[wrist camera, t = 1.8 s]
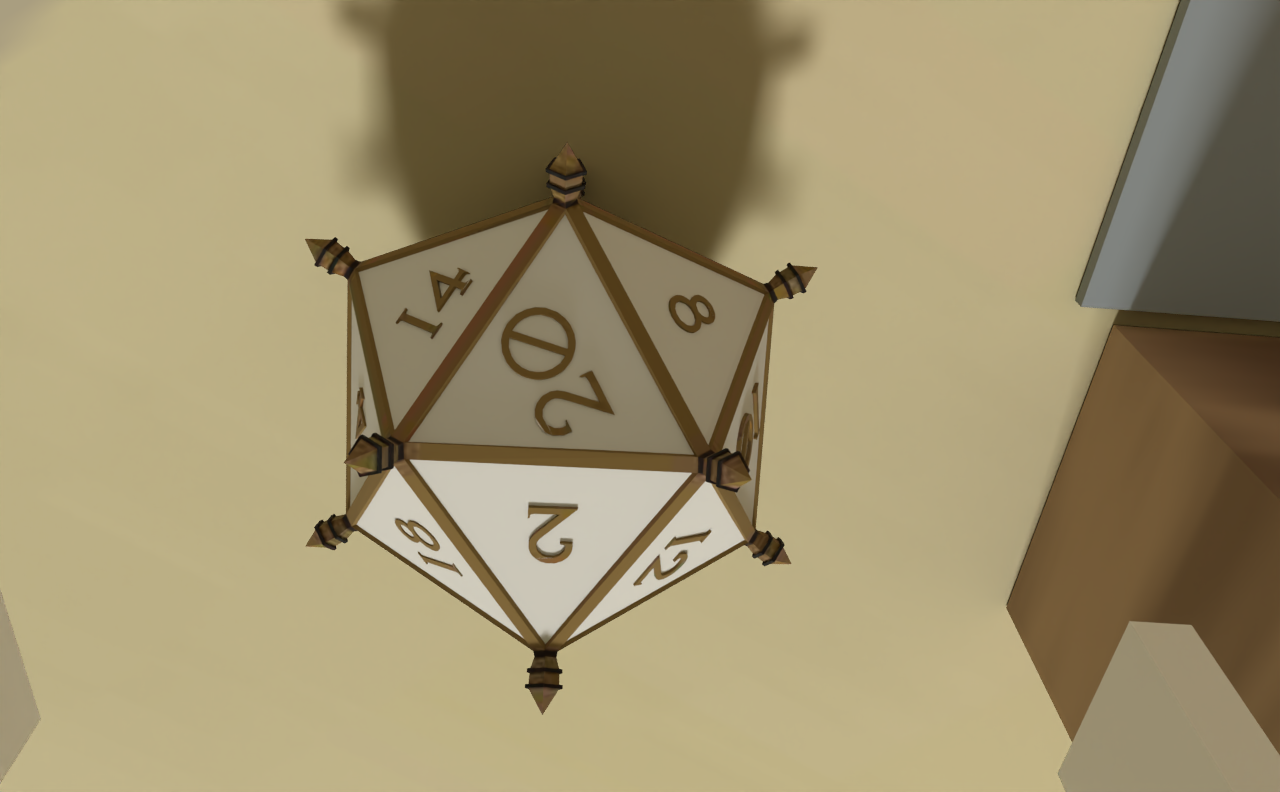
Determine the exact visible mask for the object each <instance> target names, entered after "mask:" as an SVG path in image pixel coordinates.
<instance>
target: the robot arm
mask: <svg viewBox="0 0 1280 792" xmlns="http://www.w3.org/2000/svg"><path fill="white" fill-rule="evenodd" d="M40 719H41V718H40V715H39V712H38V708H37V705H36V702H35V699H34V696H33V692H32V689H31V686H30V683H29V680H28V677H27V673H26V670H25V667H24V664H23V661H22V657H21V654H20V651H19V648H18V645H17V641H16V638H15V635H14V632H13V629H12V625H11V622H10V619H9V616H8V613H7V609H6V606H5V603H4V600H3V597H2V593H1V590H0V783H1V782H2V780H3V778H4V777H5V775H6V774H7V772H8V770H9V769H10V767H11V766H12V764H13V762H14V761H15V759H16V758H17V756H18V754H19V753H20V751H21V750H22V748H23V747H24V745H25V743H26V742H27V740H28V739H29V737H30V735H31V734H32V732H33V731H34V729H35V727H36V726H37V724H38V723H39V721H40ZM1058 775H1059V778H1060V780H1061V782H1062V784H1063V787H1064V789H1065V791H1066V792H1280V755H1279V754H1278V752H1277V751H1276V749H1275V748H1274V746H1273V745H1272V743H1271V742H1270V740H1269V739H1268V737H1267V736H1266V734H1265V733H1264V731H1263V730H1262V728H1261V727H1260V726H1259V724H1258V723H1257V721H1256V720H1255V718H1254V717H1253V715H1252V714H1251V712H1250V711H1249V709H1248V708H1247V706H1246V705H1245V703H1244V702H1243V700H1242V699H1241V697H1240V696H1239V694H1238V693H1237V691H1236V690H1235V689H1234V687H1233V686H1232V684H1231V683H1230V681H1229V680H1228V678H1227V677H1226V675H1225V674H1224V672H1223V671H1222V669H1221V668H1220V666H1219V665H1218V663H1217V662H1216V660H1215V659H1214V657H1213V656H1212V654H1211V653H1210V652H1209V650H1208V649H1207V647H1206V646H1205V644H1204V643H1203V641H1202V640H1201V638H1200V637H1199V635H1198V634H1197V632H1196V631H1195V629H1194V628H1193V626H1192V625H1184V624H1168V623H1152V622H1136V621H1129V623H1128V626H1127V628H1126V630H1125V632H1124V634H1123V636H1122V638H1121V640H1120V642H1119V645H1118V647H1117V649H1116V651H1115V653H1114V655H1113V657H1112V659H1111V662H1110V664H1109V666H1108V668H1107V670H1106V672H1105V674H1104V676H1103V678H1102V681H1101V683H1100V685H1099V687H1098V689H1097V691H1096V693H1095V695H1094V697H1093V700H1092V702H1091V704H1090V706H1089V708H1088V710H1087V712H1086V714H1085V717H1084V719H1083V721H1082V723H1081V725H1080V727H1079V729H1078V731H1077V733H1076V736H1075V738H1074V740H1073V742H1072V744H1071V746H1070V748H1069V750H1068V753H1067V755H1066V757H1065V759H1064V761H1063V763H1062V765H1061V767H1060V769H1059V772H1058Z"/></svg>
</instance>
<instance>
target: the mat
mask: <svg viewBox="0 0 1280 792" xmlns="http://www.w3.org/2000/svg"><path fill="white" fill-rule="evenodd" d="M1075 301H1076V302H1077V303H1078V304H1079V305H1080V306H1081V307H1092V308H1105V309H1118V310H1132V311H1145V312H1158V313H1172V314H1185V315H1198V316H1212V317H1225V318H1238V319H1252V320H1265V321H1278V322H1280V0H1181V2H1180V4H1179V7H1178V10H1177V13H1176V16H1175V19H1174V22H1173V24H1172V27H1171V30H1170V33H1169V36H1168V39H1167V41H1166V44H1165V47H1164V50H1163V53H1162V56H1161V58H1160V61H1159V64H1158V67H1157V70H1156V73H1155V75H1154V78H1153V81H1152V84H1151V87H1150V90H1149V92H1148V95H1147V98H1146V101H1145V104H1144V107H1143V110H1142V112H1141V115H1140V118H1139V121H1138V124H1137V127H1136V129H1135V132H1134V135H1133V138H1132V141H1131V144H1130V146H1129V149H1128V152H1127V155H1126V158H1125V161H1124V163H1123V166H1122V169H1121V172H1120V175H1119V178H1118V181H1117V183H1116V186H1115V189H1114V192H1113V195H1112V198H1111V200H1110V203H1109V206H1108V209H1107V212H1106V215H1105V217H1104V220H1103V223H1102V226H1101V229H1100V232H1099V234H1098V237H1097V240H1096V243H1095V246H1094V249H1093V251H1092V254H1091V257H1090V260H1089V263H1088V266H1087V269H1086V271H1085V274H1084V277H1083V280H1082V283H1081V286H1080V288H1079V291H1078V294H1077V297H1076V300H1075Z"/></svg>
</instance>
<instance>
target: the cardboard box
mask: <svg viewBox="0 0 1280 792" xmlns="http://www.w3.org/2000/svg"><path fill="white" fill-rule="evenodd" d="M1006 608H1007V610H1008V612H1009V614H1010V616H1011V618H1012V620H1013V622H1014V624H1015V627H1016V629H1017V631H1018V633H1019V635H1020V637H1021V639H1022V641H1023V643H1024V645H1025V647H1026V649H1027V651H1028V653H1029V655H1030V657H1031V659H1032V661H1033V663H1034V665H1035V667H1036V669H1037V671H1038V673H1039V675H1040V678H1041V680H1042V682H1043V684H1044V686H1045V688H1046V690H1047V692H1048V694H1049V696H1050V698H1051V700H1052V702H1053V704H1054V706H1055V708H1056V710H1057V712H1058V714H1059V716H1060V718H1061V720H1062V722H1063V724H1064V726H1065V728H1066V731H1067V733H1068V735H1069V737H1070V739H1071V741H1072V742H1073V740H1074V738H1075V736H1076V733H1077V731H1078V729H1079V727H1080V725H1081V723H1082V721H1083V719H1084V717H1085V714H1086V712H1087V710H1088V708H1089V706H1090V704H1091V702H1092V700H1093V697H1094V695H1095V693H1096V691H1097V689H1098V687H1099V685H1100V683H1101V681H1102V678H1103V676H1104V674H1105V672H1106V670H1107V668H1108V666H1109V664H1110V662H1111V659H1112V657H1113V655H1114V653H1115V651H1116V649H1117V647H1118V645H1119V642H1120V640H1121V638H1122V636H1123V634H1124V632H1125V630H1126V628H1127V626H1128V623H1129V621H1136V622H1152V623H1168V624H1184V625H1192V626H1193V628H1194V629H1195V631H1196V632H1197V634H1198V635H1199V637H1200V638H1201V640H1202V641H1203V643H1204V644H1205V646H1206V647H1207V649H1208V650H1209V652H1210V653H1211V654H1212V656H1213V657H1214V659H1215V660H1216V662H1217V663H1218V665H1219V666H1220V668H1221V669H1222V671H1223V672H1224V674H1225V675H1226V677H1227V678H1228V680H1229V681H1230V683H1231V684H1232V686H1233V687H1234V689H1235V690H1236V691H1237V693H1238V694H1239V696H1240V697H1241V699H1242V700H1243V702H1244V703H1245V705H1246V706H1247V708H1248V709H1249V711H1250V712H1251V714H1252V715H1253V717H1254V718H1255V720H1256V721H1257V723H1258V724H1259V726H1260V727H1261V728H1262V730H1263V731H1264V733H1265V734H1266V736H1267V737H1268V739H1269V740H1270V742H1271V743H1272V745H1273V746H1274V748H1275V749H1276V751H1277V752H1278V754H1279V755H1280V337H1267V336H1253V335H1240V334H1226V333H1213V332H1199V331H1186V330H1172V329H1159V328H1145V327H1131V326H1118V325H1113V328H1112V330H1111V333H1110V336H1109V338H1108V341H1107V343H1106V346H1105V349H1104V351H1103V354H1102V357H1101V359H1100V362H1099V365H1098V367H1097V370H1096V372H1095V375H1094V378H1093V380H1092V383H1091V386H1090V388H1089V391H1088V394H1087V396H1086V399H1085V401H1084V404H1083V407H1082V409H1081V412H1080V415H1079V417H1078V420H1077V423H1076V425H1075V428H1074V430H1073V433H1072V436H1071V438H1070V441H1069V444H1068V446H1067V449H1066V452H1065V454H1064V457H1063V459H1062V462H1061V465H1060V467H1059V470H1058V473H1057V475H1056V478H1055V481H1054V483H1053V486H1052V488H1051V491H1050V494H1049V496H1048V499H1047V502H1046V504H1045V507H1044V510H1043V512H1042V515H1041V518H1040V520H1039V523H1038V525H1037V528H1036V531H1035V533H1034V536H1033V539H1032V541H1031V544H1030V547H1029V549H1028V552H1027V554H1026V557H1025V560H1024V562H1023V565H1022V568H1021V570H1020V573H1019V576H1018V578H1017V581H1016V583H1015V586H1014V589H1013V591H1012V594H1011V597H1010V599H1009V602H1008V605H1007V607H1006Z"/></svg>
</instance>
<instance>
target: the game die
mask: <svg viewBox="0 0 1280 792" xmlns="http://www.w3.org/2000/svg"><path fill="white" fill-rule="evenodd" d="M546 172H547V173H549V174H550V179H549V181H548V182H547V183H546V184H547V187H548V188H550V189H551V190H552V193H553V196H554V197H551V198H548V199H545V200H542V201H539V202H536V203H533V204H530V205H527V206H524V207H521V208H519V209H516V210H513V211H510V212H507V213H504V214H501V215H498V216H495V217H492V218H489V219H486V220H483V221H480V222H477V223H474V224H471V225H469V226H466V227H463V228H460V229H457V230H454V231H451V232H448V233H445V234H442V235H439V236H436V237H433V238H430V239H427V240H424V241H421V242H418V243H416V244H413V245H410V246H407V247H404V248H401V249H398V250H395V251H392V252H389V253H386V254H383V255H380V256H377V257H374V258H371V259H368V260H365V261H363V262H360V261H357V260H355V259H354V258H353V256H352V255H351V254H350V253H349V249H350V248H349V247H347V246H346V247H345V248H344V247H342V246H341V245H340V244H338V243H337V240H338V239H337V238H336V237H335V238H334V239H333V240H323V239H305V240H306V242H307V244H308V246H309V248H310V250H311V253H312V255H313V257H314V259H315V261H316V263H315V266H317V267H319V266H322V267H324V268H326V269H327V270H328V272H327V273H329V274H330V275H331V274H335V273H336V274H339V275H342V276H344V277H345V278H346V279H347V280H348V310H347V451H346V460H345V462H344V463H345V464H346V514H345V515H340V516H336V515H335V514H333V515H331V517H330V518H329V519H328V520H327V521H325V522H324V521H323V520H321V521H319V522H318V524H317V525H316V526H315V527H314V528H315V532H314V533H313V535H312V536H311V538H310V540H309V541H308V543H307V545H306V546H308V547H326V548H329V549H332V550H335V549H336V545H338V544H339V543H341V542H343V543H346V542H348V540H347V538H348V537H349V536H350V535H351V534H352V532H354V531H359V532H361V533H362V534H363V535H365V536H366V537H368V538H369V539H371V540H372V541H374V542H375V543H377V544H378V545H379V546H381V547H382V548H384V549H385V550H387V551H388V552H390V553H391V554H393V555H394V556H396V557H397V558H398V559H400V560H401V561H403V562H404V563H406V564H407V565H409V566H410V567H412V568H413V569H415V570H416V571H417V572H419V573H420V574H422V575H423V576H425V577H426V578H428V579H429V580H431V581H432V582H433V583H435V584H436V585H438V586H439V587H441V588H442V589H444V590H445V591H447V592H448V593H450V594H451V595H452V596H454V597H455V598H457V599H458V600H460V601H461V602H463V603H464V604H466V605H467V606H469V607H470V608H471V609H473V610H474V611H476V612H477V613H479V614H480V615H482V616H483V617H485V618H486V619H487V620H489V621H490V622H492V623H493V624H495V625H496V626H498V627H499V628H501V629H502V630H504V631H505V632H506V633H508V634H509V635H511V636H512V637H514V638H515V639H517V640H518V641H520V642H521V643H523V644H524V645H525V646H527V647H528V648H530V649H531V650H533V651H534V656H535V657H534V660H533V663H532V666H531V668H527V672H528V673H530V676H529V684H525V688H527V689H529V690H530V692H531V694H532V696H533V698H534V700H535V702H536V703H537V705H538V707H539V709H540V711H541V713H542V715H543V713H544V712H545V710H546V708H547V707H548V705H549V704H550V702H551V701H552V699H553V697H554V696H555V694H556V693H557V691H558V690H560V689H562V685H559V674H561V673H562V669H559V667H558V663H557V659H556V656H557V651H559V650H561V649H563V648H564V647H566V646H568V645H570V644H571V643H573V642H575V641H577V640H578V639H580V638H582V637H584V636H585V635H587V634H589V633H591V632H592V631H594V630H596V629H598V628H599V627H601V626H603V625H605V624H606V623H608V622H610V621H612V620H613V619H615V618H617V617H619V616H620V615H622V614H624V613H626V612H627V611H629V610H631V609H633V608H634V607H636V606H638V605H640V604H641V603H643V602H645V601H647V600H648V599H650V598H652V597H654V596H655V595H657V594H659V593H661V592H662V591H664V590H666V589H668V588H669V587H671V586H673V585H675V584H677V583H678V582H680V581H682V580H684V579H685V578H687V577H689V576H691V575H692V574H694V573H696V572H698V571H699V570H701V569H703V568H705V567H706V566H708V565H710V564H712V563H713V562H715V561H717V560H719V559H720V558H722V557H724V556H726V555H727V554H729V553H731V552H733V551H734V550H736V549H738V548H740V547H741V546H743V545H745V546H748V548H749V549H750V550H751V551H752V553H753V555H752V557H753V558H757V557H758V558H759V559H761V560H762V561H763V563H762V565H764V566H766V565H769V564H791V562H790V560H789V558H788V556H787V554H786V552H785V550H784V548H783V547H784V543H783V542H782V540H781V539H780V538H779V537H778V538H777V539H775V538H774V537H772V535H771V533H770V532H769V531H767V532H766V533H764V532H761V531H757V530H756V518H757V506H758V493H759V481H760V469H761V457H762V445H763V433H764V420H765V408H766V396H767V384H768V372H769V360H770V347H771V335H772V323H773V311H774V303H775V302H776V301H777V300H778V299H782V298H789V299H792V298H794V297H793V295H794V294H796V293H799V292H802V293H805V292H806V290H805V288H806V286H807V285H808V283H809V281H810V280H811V278H812V276H813V274H814V273H815V271H816V269H817V268H818V267H805V266H792V265H791V264H790V263H788V264H787V266H788V268H786V269H784V270H783V271H781V272H779V271H778V270H777V271H776V272H775V274H776V275H775V276H774V277H773V279H772V280H771V281H770V282H769V283H765V284H762V283H760V282H758V281H756V280H754V279H751V278H749V277H747V276H745V275H743V274H741V273H738V272H736V271H734V270H732V269H730V268H728V267H726V266H723V265H721V264H719V263H717V262H715V261H713V260H710V259H708V258H706V257H704V256H702V255H700V254H697V253H695V252H693V251H691V250H689V249H687V248H685V247H682V246H680V245H678V244H676V243H674V242H672V241H669V240H667V239H665V238H663V237H661V236H659V235H657V234H654V233H652V232H650V231H648V230H646V229H644V228H641V227H639V226H637V225H635V224H633V223H631V222H628V221H626V220H624V219H622V218H620V217H618V216H616V215H613V214H611V213H609V212H607V211H605V210H603V209H600V208H598V207H596V206H594V205H592V204H590V203H588V202H585V201H583V200H581V199H580V198H581V196H584V195H585V192H584V189H585V185H586V181H585V179H584V177H583V175H586V174H587V171H586V169H585V167H584V165H583V164H582V162H581V160H580V159H577V158H576V157H575V155H574V153H573V151H572V149H571V148H570V146H569V144H568V142H567V143H566V145H565V146H564V148H563V149H562V151H561V152H560V154H559V155H558V156H557V157H555V158H554V159H553V160H552V161H551V163H550V164H549V165H548V166H547V168H546Z"/></svg>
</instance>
